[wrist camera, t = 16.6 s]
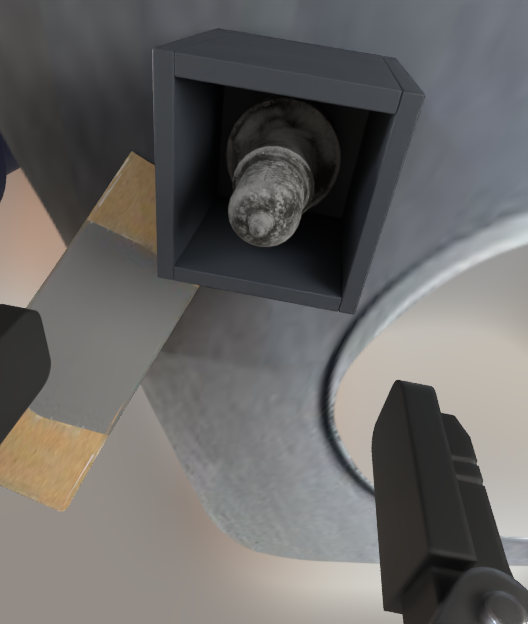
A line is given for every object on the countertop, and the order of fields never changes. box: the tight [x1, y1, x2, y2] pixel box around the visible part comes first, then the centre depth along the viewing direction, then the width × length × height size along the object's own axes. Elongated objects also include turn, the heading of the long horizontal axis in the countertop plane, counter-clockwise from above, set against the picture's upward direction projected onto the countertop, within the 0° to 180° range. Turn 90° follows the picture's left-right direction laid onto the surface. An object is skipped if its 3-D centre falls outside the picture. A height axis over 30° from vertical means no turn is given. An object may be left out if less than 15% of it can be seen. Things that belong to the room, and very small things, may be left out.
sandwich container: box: [0, 151, 200, 512], centre depth 27 cm, size 9×15×15 cm, turn 146°
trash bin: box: [152, 28, 425, 314], centre depth 22 cm, size 10×10×10 cm
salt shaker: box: [226, 94, 341, 247], centre depth 20 cm, size 6×6×12 cm
